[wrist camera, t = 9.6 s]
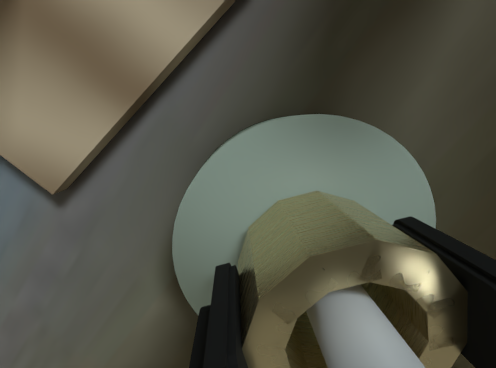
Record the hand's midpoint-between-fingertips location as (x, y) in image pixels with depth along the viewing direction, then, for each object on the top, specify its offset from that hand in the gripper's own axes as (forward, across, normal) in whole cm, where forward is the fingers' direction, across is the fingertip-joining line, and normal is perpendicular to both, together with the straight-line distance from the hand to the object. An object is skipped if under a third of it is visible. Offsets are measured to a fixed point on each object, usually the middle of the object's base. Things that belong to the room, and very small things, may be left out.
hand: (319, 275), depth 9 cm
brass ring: (+1, 0, 0) cm, 1 cm away
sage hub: (+5, 0, 0) cm, 5 cm away
